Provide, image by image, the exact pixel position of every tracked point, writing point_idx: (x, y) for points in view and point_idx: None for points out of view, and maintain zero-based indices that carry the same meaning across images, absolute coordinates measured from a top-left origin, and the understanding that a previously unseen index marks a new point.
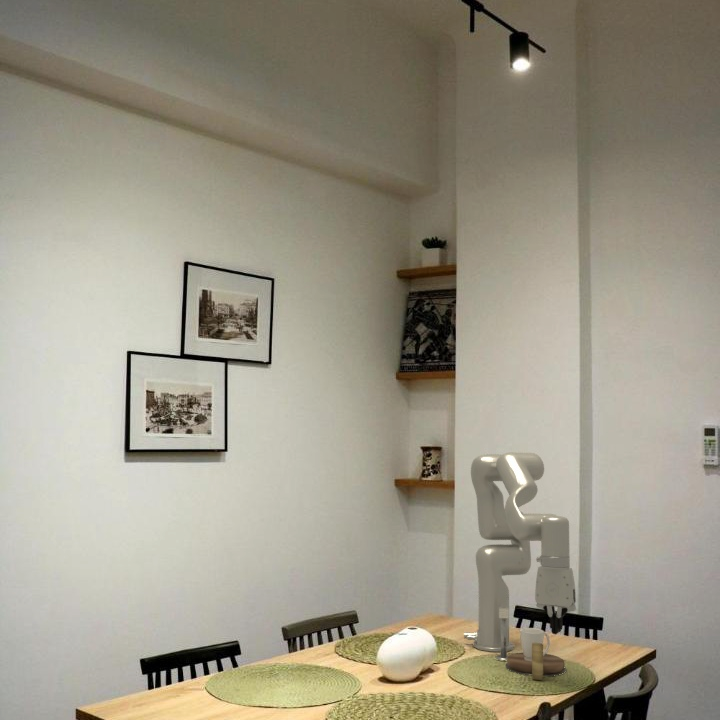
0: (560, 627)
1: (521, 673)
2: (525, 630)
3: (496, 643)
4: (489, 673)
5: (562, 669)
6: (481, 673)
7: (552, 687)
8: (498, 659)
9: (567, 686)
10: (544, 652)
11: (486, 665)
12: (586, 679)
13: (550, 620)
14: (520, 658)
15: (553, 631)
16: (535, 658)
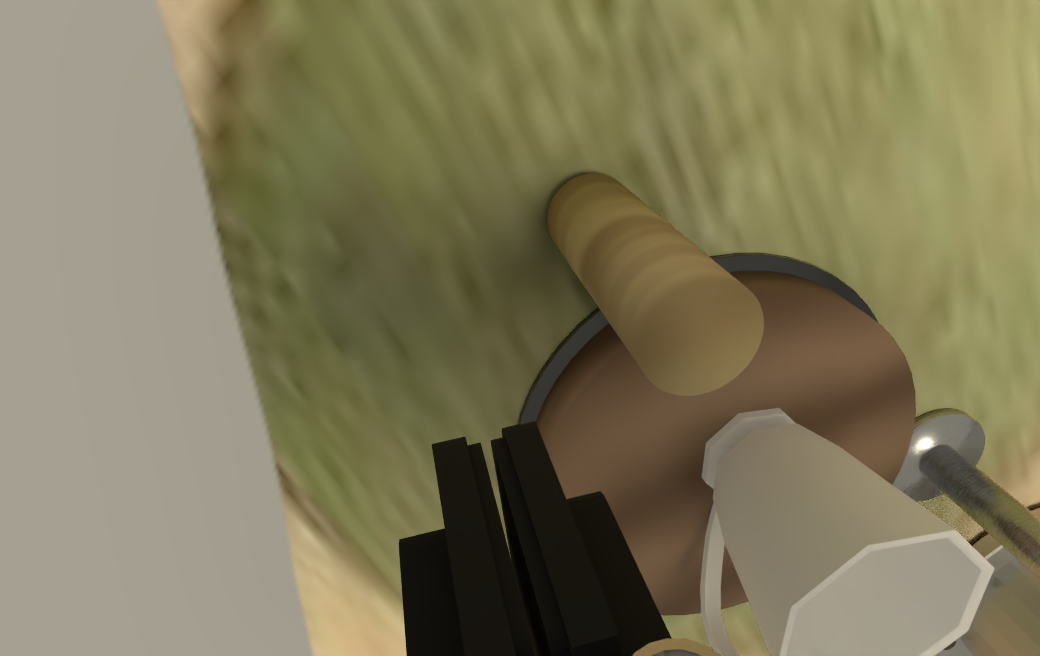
0: (399, 553)
1: (737, 256)
2: (940, 619)
3: (1030, 575)
4: (939, 104)
5: None
6: (993, 58)
7: (398, 109)
8: (953, 412)
9: (327, 225)
10: (712, 566)
11: (995, 269)
12: (333, 467)
13: (635, 596)
14: (826, 418)
15: (504, 439)
16: (646, 225)
